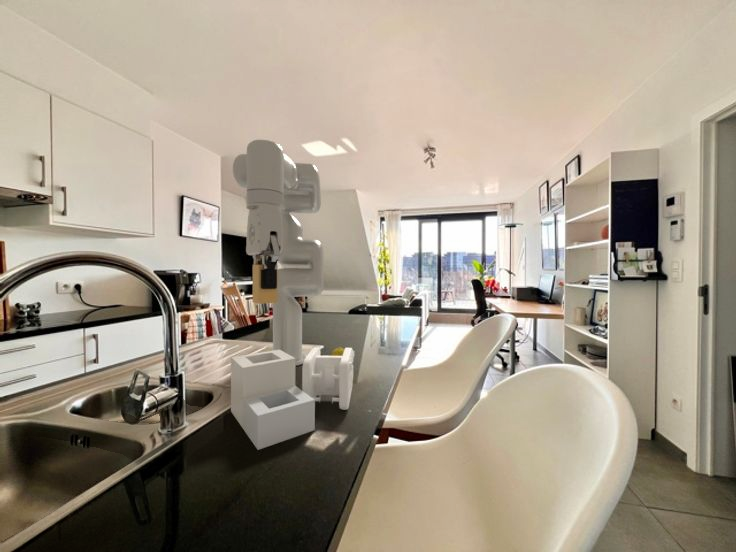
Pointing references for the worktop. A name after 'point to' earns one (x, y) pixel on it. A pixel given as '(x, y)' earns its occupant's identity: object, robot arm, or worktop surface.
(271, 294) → the plug
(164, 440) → the worktop surface
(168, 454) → the worktop surface
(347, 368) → the cable organizer
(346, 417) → the worktop surface
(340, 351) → the lemon
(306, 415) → the stepped foam insert
